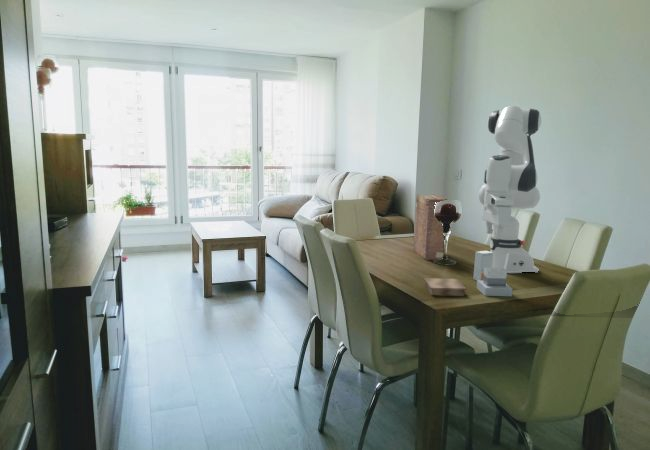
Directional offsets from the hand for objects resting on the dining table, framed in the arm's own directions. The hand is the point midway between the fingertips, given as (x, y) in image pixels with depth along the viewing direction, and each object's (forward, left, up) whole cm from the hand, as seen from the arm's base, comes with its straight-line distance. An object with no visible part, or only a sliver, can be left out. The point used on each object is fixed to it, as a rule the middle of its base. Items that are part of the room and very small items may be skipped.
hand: (493, 235), depth 179 cm
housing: (-1, +2, -19) cm, 19 cm away
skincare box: (-2, -15, -22) cm, 27 cm away
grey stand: (-1, +2, -22) cm, 22 cm away
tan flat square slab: (+18, +2, -22) cm, 28 cm away
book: (+11, -62, -22) cm, 67 cm away
